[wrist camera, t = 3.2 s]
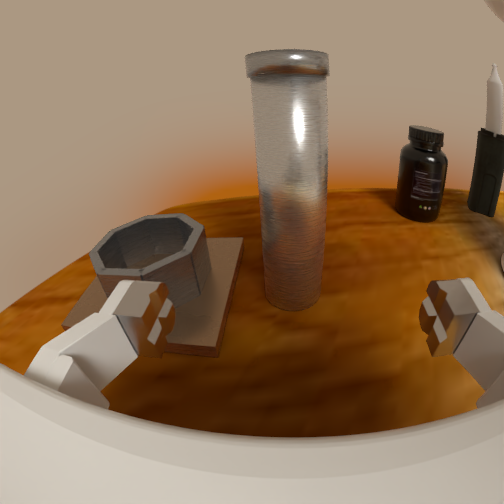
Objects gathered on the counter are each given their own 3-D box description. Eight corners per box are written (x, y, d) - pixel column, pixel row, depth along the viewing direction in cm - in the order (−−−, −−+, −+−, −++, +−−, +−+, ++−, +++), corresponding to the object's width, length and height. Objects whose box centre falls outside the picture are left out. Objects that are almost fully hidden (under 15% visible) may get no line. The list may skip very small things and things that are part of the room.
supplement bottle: (390, 200, 38) (397, 121, 32) (430, 205, 36) (440, 128, 30) (399, 221, 33) (409, 128, 26) (444, 226, 31) (459, 138, 24)
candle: (468, 210, 35) (482, 57, 21) (466, 199, 38) (478, 61, 25) (494, 218, 32) (511, 66, 19) (490, 207, 35) (504, 69, 22)
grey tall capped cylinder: (320, 273, 25) (322, 59, 16) (325, 312, 21) (334, 50, 11) (265, 273, 26) (250, 60, 16) (260, 312, 22) (239, 52, 12)
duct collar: (244, 247, 30) (239, 201, 27) (218, 357, 18) (203, 302, 16) (128, 248, 32) (116, 209, 29) (67, 334, 20) (40, 288, 17)
